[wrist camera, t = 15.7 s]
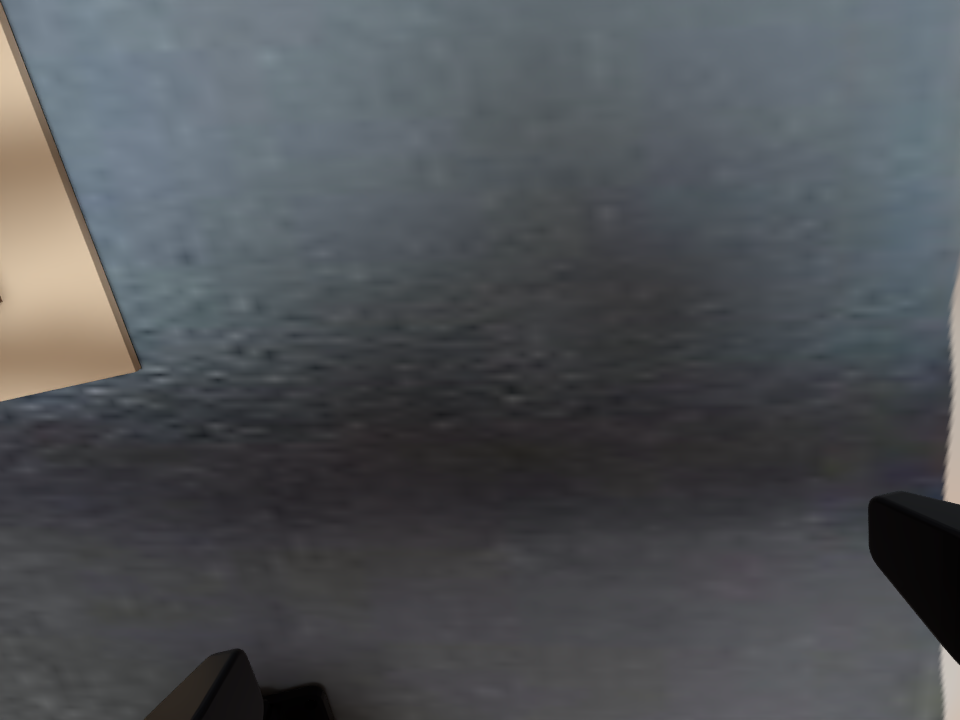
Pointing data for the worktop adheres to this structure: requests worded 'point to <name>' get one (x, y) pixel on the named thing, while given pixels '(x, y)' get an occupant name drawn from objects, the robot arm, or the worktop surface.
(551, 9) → the worktop surface
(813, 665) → the worktop surface
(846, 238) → the worktop surface
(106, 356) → the socket board
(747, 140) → the worktop surface
